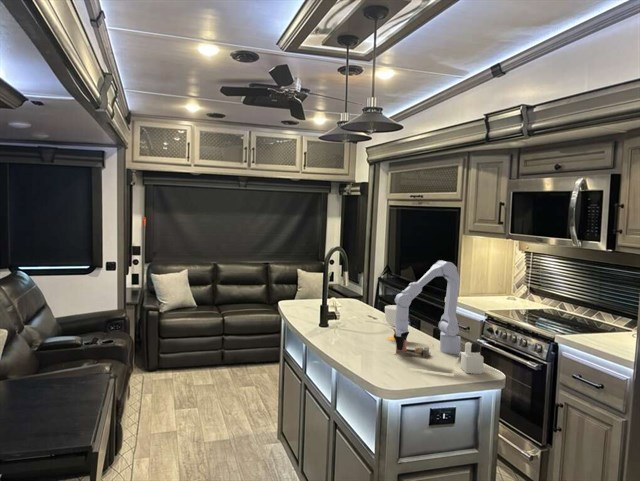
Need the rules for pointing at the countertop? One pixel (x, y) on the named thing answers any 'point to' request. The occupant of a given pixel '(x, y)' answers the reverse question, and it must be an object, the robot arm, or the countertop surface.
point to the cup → (391, 317)
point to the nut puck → (419, 350)
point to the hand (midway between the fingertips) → (400, 348)
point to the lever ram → (403, 347)
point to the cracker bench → (412, 353)
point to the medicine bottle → (472, 359)
